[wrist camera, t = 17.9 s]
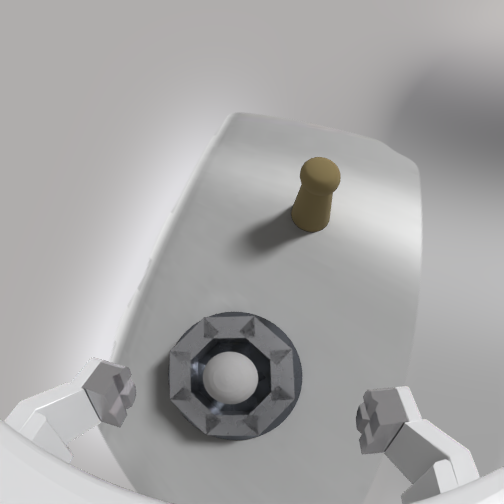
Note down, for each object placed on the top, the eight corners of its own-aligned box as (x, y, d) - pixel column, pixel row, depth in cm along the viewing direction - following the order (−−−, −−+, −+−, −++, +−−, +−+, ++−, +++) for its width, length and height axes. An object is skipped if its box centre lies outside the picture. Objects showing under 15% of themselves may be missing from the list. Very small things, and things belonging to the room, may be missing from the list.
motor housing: (304, 435, 30) (309, 443, 25) (171, 435, 30) (159, 442, 26) (297, 309, 37) (301, 300, 33) (171, 313, 37) (159, 305, 33)
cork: (285, 224, 42) (291, 176, 32) (297, 193, 44) (305, 144, 34) (324, 237, 41) (340, 193, 31) (333, 206, 43) (350, 159, 33)
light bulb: (207, 387, 32) (188, 390, 23) (225, 349, 34) (213, 339, 25) (247, 405, 31) (242, 416, 22) (265, 366, 33) (267, 363, 24)
